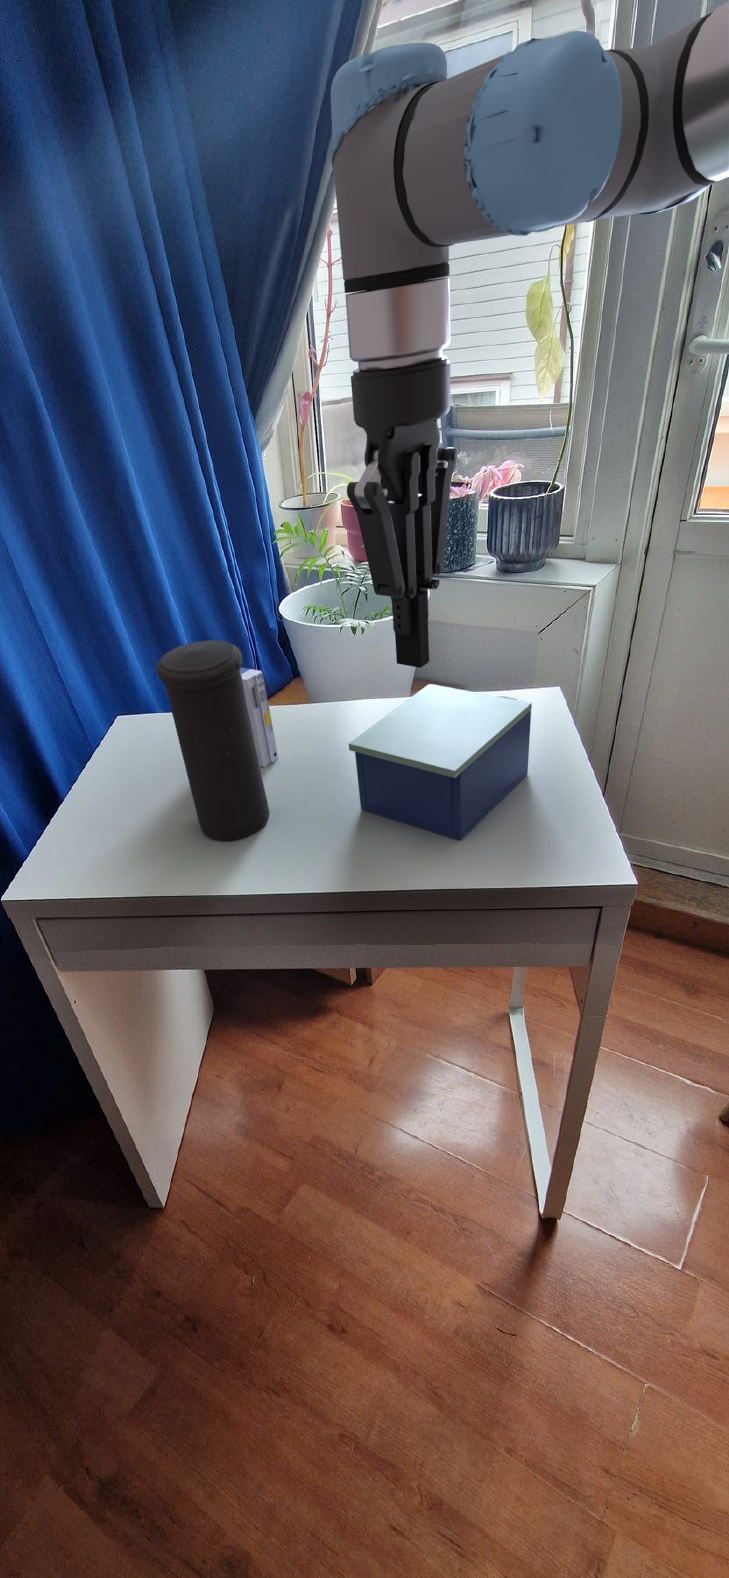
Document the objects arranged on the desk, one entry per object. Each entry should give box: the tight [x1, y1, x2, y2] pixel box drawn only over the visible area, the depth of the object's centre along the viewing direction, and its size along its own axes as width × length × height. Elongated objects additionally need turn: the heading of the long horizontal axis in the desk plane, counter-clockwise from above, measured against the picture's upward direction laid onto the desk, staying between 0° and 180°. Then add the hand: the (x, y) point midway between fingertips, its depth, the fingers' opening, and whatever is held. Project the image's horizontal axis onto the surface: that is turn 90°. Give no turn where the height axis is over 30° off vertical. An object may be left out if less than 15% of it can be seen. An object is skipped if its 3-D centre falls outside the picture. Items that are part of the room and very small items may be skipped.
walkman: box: [240, 666, 279, 768], centre depth 94 cm, size 8×3×12 cm, turn 52°
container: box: [156, 639, 270, 841], centre depth 80 cm, size 9×9×20 cm
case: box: [354, 709, 532, 841], centre depth 83 cm, size 15×13×8 cm
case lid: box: [348, 683, 533, 778], centre depth 80 cm, size 16×13×1 cm
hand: (412, 662), depth 72 cm, fingers closed
